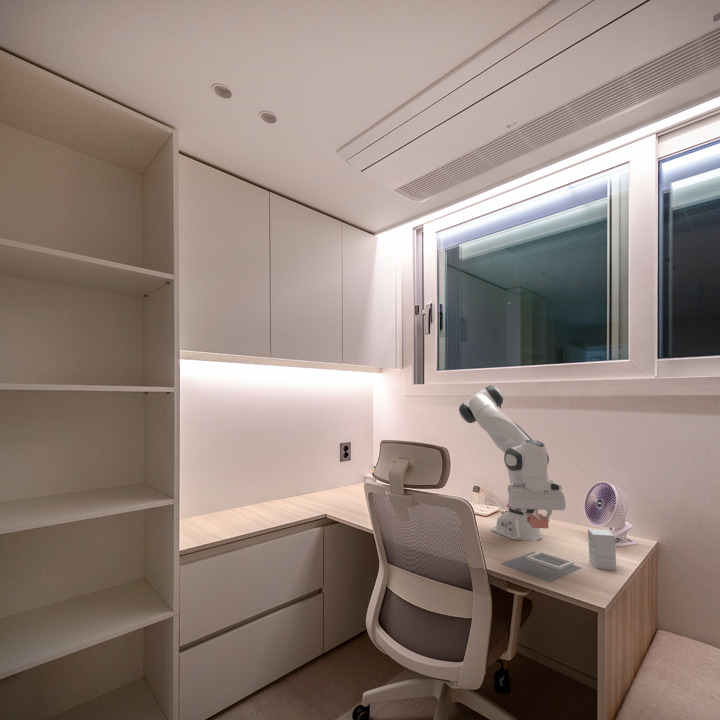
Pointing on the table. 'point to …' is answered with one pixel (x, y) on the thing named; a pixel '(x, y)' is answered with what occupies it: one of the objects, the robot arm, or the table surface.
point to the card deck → (537, 520)
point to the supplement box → (602, 549)
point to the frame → (568, 563)
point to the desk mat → (540, 567)
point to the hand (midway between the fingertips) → (536, 521)
